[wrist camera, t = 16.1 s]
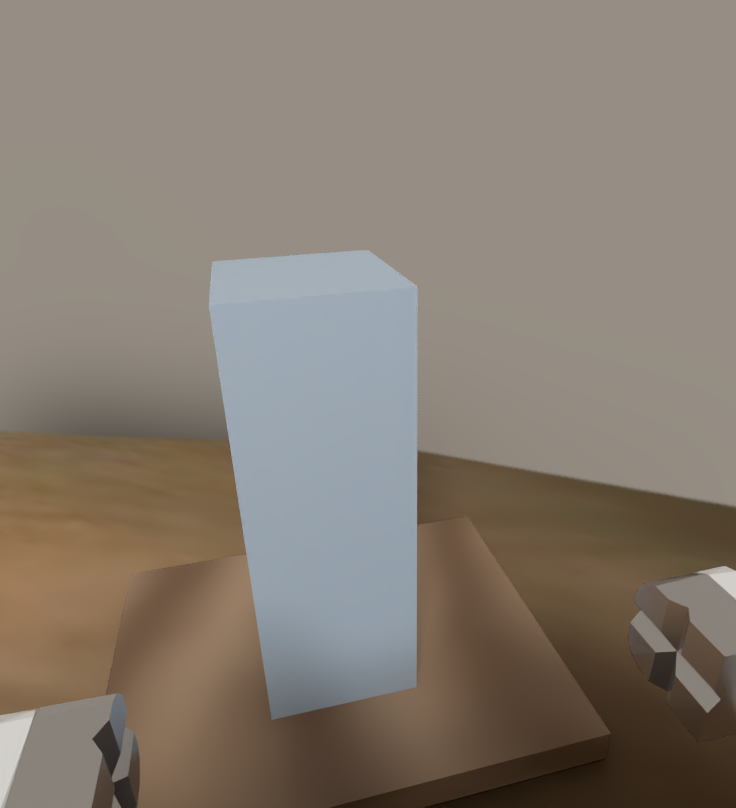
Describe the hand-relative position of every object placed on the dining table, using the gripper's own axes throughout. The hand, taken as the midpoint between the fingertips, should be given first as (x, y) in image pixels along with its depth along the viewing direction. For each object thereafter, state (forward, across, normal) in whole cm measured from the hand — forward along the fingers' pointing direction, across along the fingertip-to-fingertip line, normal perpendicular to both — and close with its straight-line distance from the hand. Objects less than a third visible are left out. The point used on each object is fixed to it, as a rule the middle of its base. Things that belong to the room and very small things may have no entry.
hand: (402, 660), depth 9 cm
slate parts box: (+10, 0, +10) cm, 14 cm away
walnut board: (+10, 0, +11) cm, 15 cm away
